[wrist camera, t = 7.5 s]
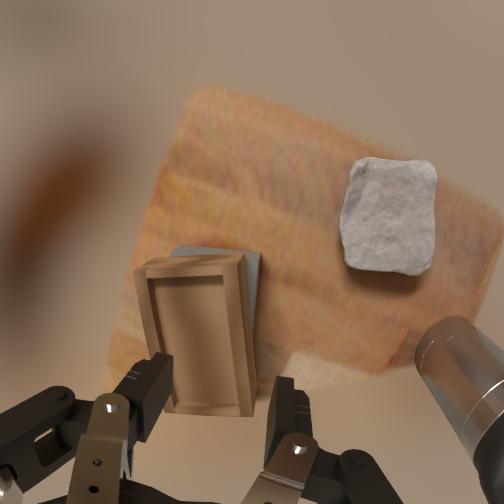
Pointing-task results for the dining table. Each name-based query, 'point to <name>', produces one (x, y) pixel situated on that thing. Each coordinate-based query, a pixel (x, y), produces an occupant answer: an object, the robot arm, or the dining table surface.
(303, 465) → the robot arm
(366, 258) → the stone block
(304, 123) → the dining table surface
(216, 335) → the tan open box
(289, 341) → the dining table surface
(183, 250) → the base slab
